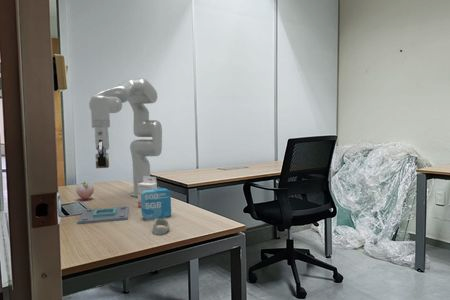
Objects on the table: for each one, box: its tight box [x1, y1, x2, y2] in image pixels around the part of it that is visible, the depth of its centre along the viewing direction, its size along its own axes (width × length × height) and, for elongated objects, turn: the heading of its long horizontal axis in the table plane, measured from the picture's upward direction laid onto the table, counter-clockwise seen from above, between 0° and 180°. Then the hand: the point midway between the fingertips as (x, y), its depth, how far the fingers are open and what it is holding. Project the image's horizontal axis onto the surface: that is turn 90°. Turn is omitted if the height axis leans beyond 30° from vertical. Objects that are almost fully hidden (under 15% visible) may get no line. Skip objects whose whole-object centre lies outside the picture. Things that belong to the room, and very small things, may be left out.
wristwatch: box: [151, 218, 170, 235], centre depth 130 cm, size 9×6×5 cm
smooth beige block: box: [94, 152, 110, 169], centre depth 152 cm, size 5×5×6 cm
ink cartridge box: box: [137, 176, 158, 208], centre depth 168 cm, size 9×5×15 cm, turn 65°
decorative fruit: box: [75, 181, 95, 200], centre depth 187 cm, size 9×8×10 cm
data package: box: [140, 187, 172, 221], centre depth 149 cm, size 12×4×12 cm, turn 114°
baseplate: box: [76, 205, 130, 225], centre depth 154 cm, size 20×20×2 cm
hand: (102, 165), depth 152 cm, fingers closed on smooth beige block, 5 cm apart
